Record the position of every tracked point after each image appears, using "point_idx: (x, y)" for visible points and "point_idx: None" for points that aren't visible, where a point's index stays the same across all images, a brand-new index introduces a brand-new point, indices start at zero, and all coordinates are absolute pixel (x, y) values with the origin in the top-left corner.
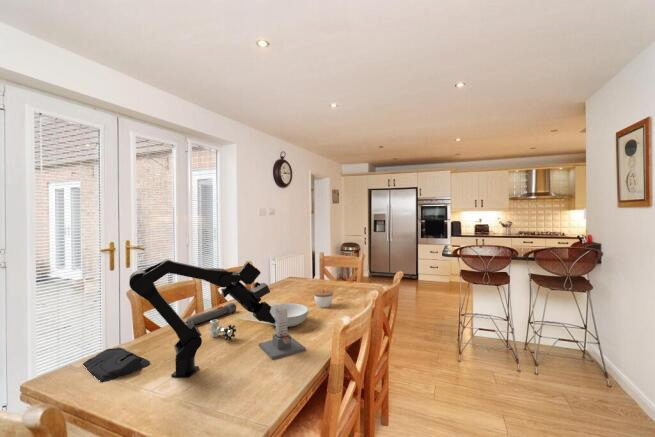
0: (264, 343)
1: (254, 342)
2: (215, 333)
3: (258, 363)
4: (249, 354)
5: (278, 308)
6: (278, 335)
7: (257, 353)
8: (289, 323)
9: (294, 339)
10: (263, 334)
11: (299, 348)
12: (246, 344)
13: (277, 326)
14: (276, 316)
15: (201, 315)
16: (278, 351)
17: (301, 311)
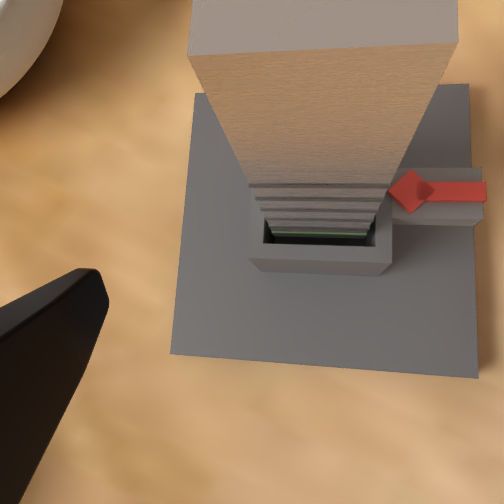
0: (202, 316)
1: (103, 353)
2: None
3: (476, 497)
4: (277, 483)
5: (283, 4)
6: (345, 231)
7: (298, 420)
8: (51, 18)
9: None
10: (20, 236)
11: (452, 127)
12: (97, 420)
13: (321, 205)
14: (277, 152)
15: None
16: (411, 287)
17: None
